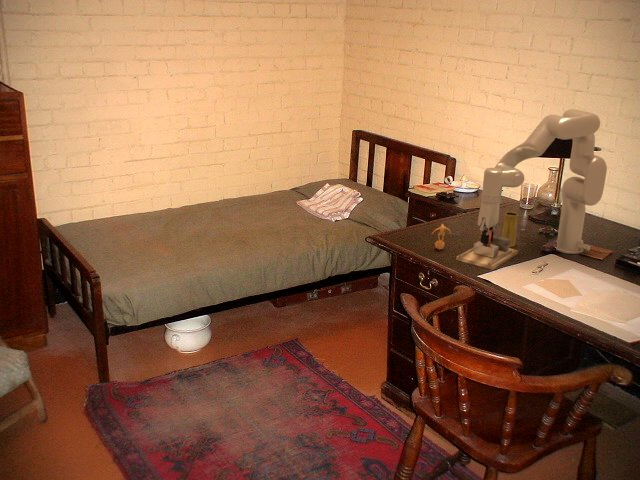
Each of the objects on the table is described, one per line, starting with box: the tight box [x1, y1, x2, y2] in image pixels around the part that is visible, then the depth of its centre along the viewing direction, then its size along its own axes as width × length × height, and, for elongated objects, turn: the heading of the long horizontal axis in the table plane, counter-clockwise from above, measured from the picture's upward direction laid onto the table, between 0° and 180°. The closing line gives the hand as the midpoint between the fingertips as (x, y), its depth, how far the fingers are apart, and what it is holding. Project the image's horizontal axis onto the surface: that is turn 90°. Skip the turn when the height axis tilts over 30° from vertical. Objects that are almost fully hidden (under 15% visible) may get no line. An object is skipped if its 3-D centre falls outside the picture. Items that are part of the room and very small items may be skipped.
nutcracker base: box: [455, 235, 519, 271], centre depth 272 cm, size 16×24×6 cm, turn 141°
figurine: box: [431, 223, 452, 251], centre depth 278 cm, size 8×6×12 cm
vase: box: [501, 211, 519, 248], centre depth 285 cm, size 6×6×14 cm
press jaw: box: [473, 229, 499, 258], centre depth 269 cm, size 9×4×10 cm, turn 50°
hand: (486, 241), depth 269 cm, fingers closed on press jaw, 3 cm apart
